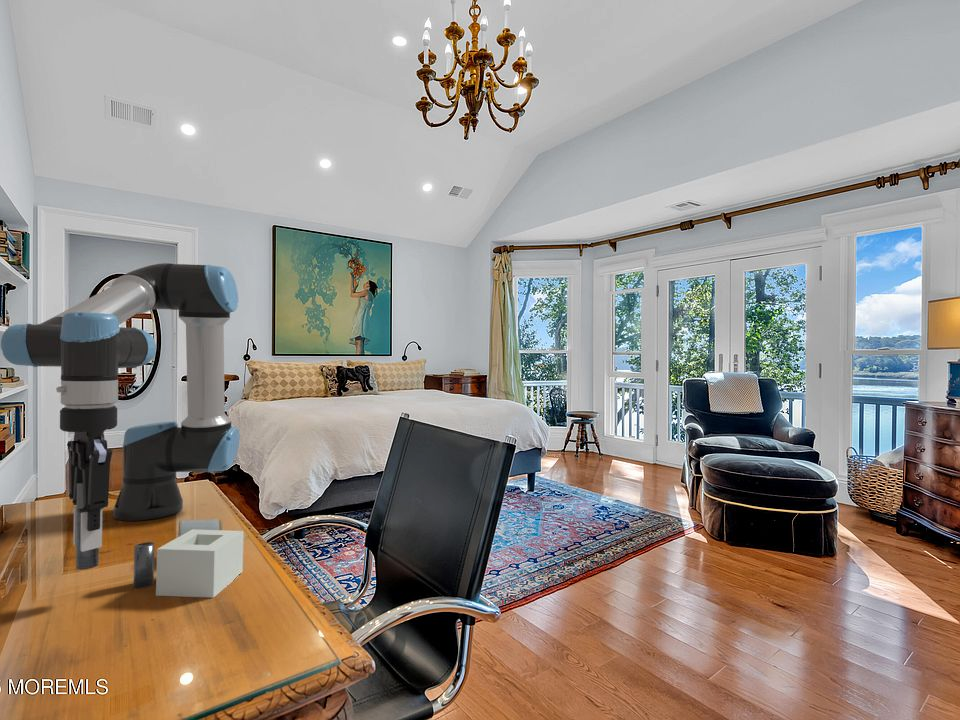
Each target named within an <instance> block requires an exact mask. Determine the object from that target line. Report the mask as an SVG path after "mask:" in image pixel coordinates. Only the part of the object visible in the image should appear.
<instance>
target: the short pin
mask: <svg viewBox="0 0 960 720" xmlns="http://www.w3.org/2000/svg"><path fill="white" fill-rule="evenodd" d="M155 545H156V544H155V542H151V541H149V542H142V543H138V544H136V545H134V549H133V582H132V583H133V588H136V589H144V588H147V587H150V586H152V585H154V583H155V582H154V577H155V576H154V575H155V573H154V572H155Z"/></svg>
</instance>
